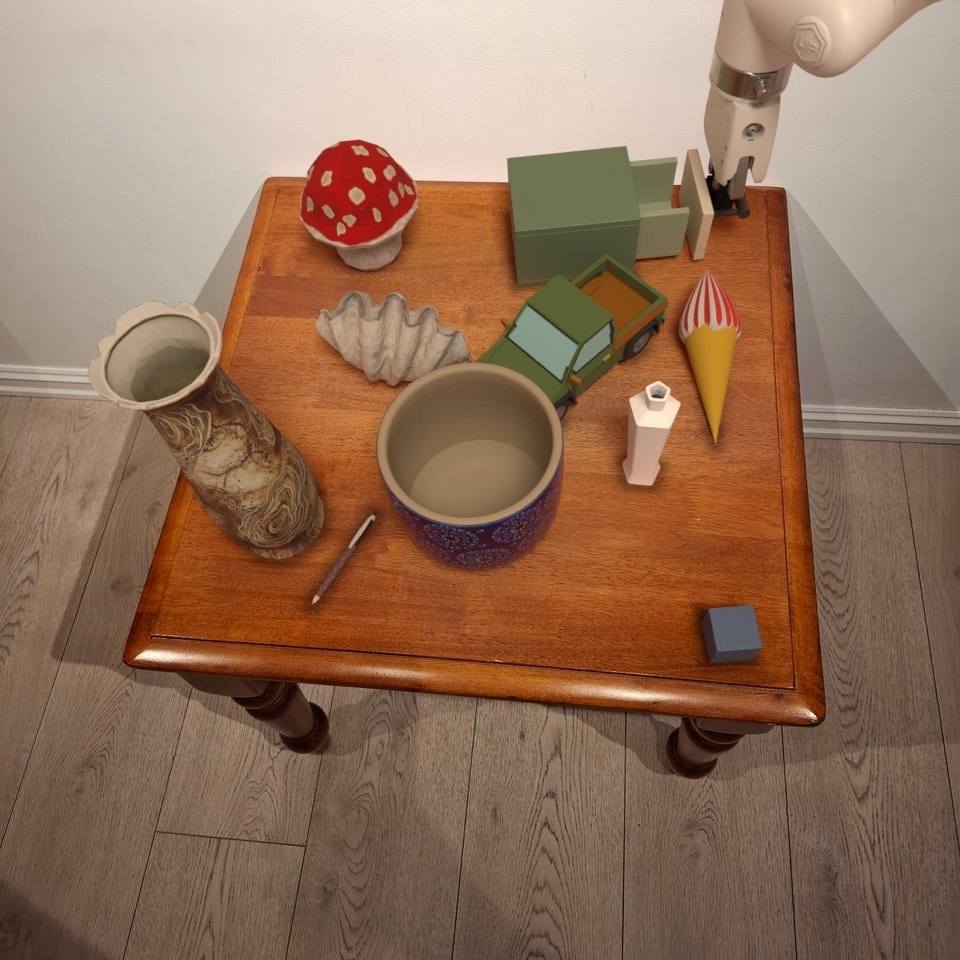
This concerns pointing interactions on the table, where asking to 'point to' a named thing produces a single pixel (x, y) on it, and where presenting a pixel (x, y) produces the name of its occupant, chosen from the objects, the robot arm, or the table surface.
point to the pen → (344, 557)
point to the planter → (473, 464)
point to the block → (731, 633)
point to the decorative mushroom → (358, 203)
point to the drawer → (669, 225)
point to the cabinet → (571, 212)
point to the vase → (210, 427)
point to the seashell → (391, 337)
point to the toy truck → (579, 330)
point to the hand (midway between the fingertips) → (716, 205)
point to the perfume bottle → (648, 432)
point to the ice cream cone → (710, 342)
